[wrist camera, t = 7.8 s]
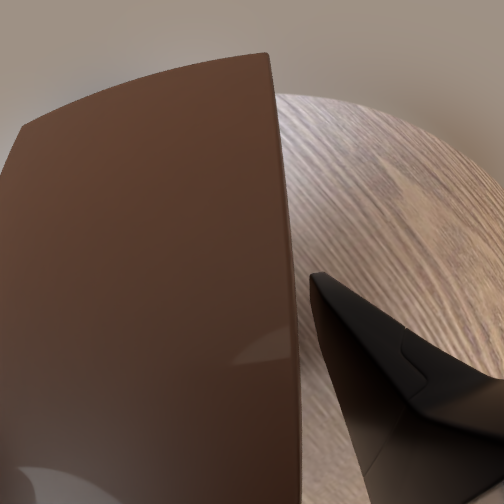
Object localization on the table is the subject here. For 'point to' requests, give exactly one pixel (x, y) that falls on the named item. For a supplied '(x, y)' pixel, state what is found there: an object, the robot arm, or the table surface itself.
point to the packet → (151, 297)
